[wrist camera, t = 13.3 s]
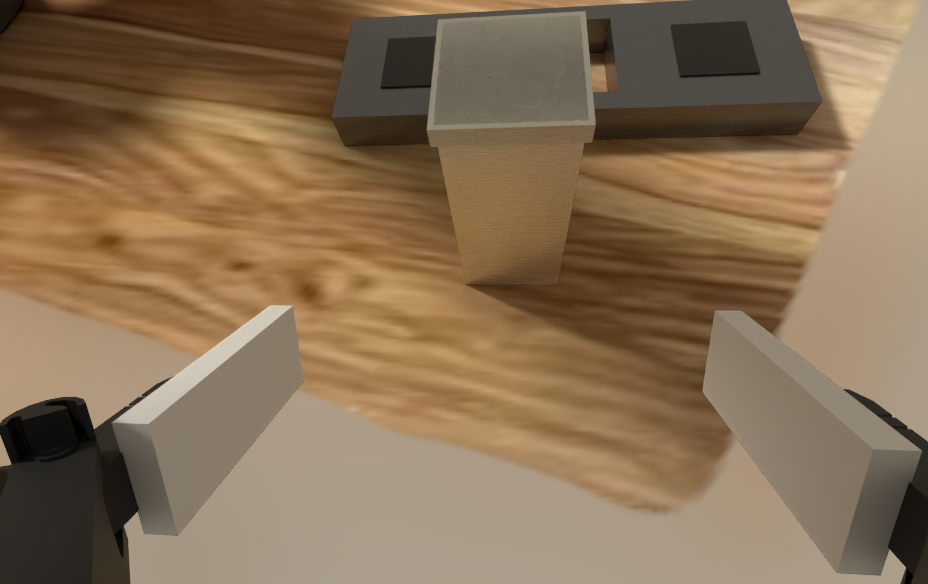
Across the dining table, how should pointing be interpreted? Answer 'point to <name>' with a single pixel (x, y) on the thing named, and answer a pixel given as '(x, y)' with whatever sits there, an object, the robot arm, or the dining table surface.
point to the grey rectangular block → (511, 138)
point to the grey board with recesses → (608, 72)
